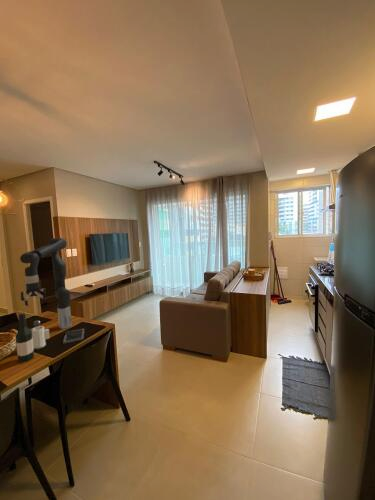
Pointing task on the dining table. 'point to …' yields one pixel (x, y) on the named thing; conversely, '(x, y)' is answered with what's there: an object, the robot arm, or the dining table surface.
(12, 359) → the dining table surface
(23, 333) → the wine bottle
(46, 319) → the dining table surface
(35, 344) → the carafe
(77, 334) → the picture frame
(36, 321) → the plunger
